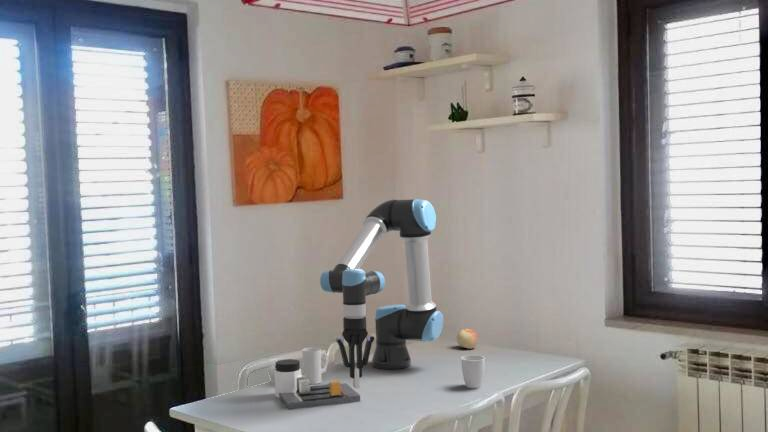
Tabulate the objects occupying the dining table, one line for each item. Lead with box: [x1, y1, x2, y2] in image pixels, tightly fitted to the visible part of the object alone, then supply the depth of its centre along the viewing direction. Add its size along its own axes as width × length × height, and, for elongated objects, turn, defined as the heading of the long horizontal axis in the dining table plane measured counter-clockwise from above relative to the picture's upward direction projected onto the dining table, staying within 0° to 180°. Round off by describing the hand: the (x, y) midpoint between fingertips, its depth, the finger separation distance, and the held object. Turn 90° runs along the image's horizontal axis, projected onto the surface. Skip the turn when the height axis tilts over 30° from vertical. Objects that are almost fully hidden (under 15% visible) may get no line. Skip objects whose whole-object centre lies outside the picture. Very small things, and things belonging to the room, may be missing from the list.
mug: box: [301, 346, 329, 385], centre depth 293 cm, size 10×7×12 cm, turn 127°
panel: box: [278, 374, 361, 411], centre depth 271 cm, size 24×17×7 cm
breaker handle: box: [328, 380, 341, 396], centre depth 266 cm, size 3×3×4 cm
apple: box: [456, 328, 479, 350], centre depth 344 cm, size 9×9×8 cm
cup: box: [460, 354, 486, 389], centre depth 282 cm, size 8×8×10 cm
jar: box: [274, 358, 302, 399], centre depth 275 cm, size 9×8×12 cm
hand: (356, 387), depth 268 cm, fingers closed
